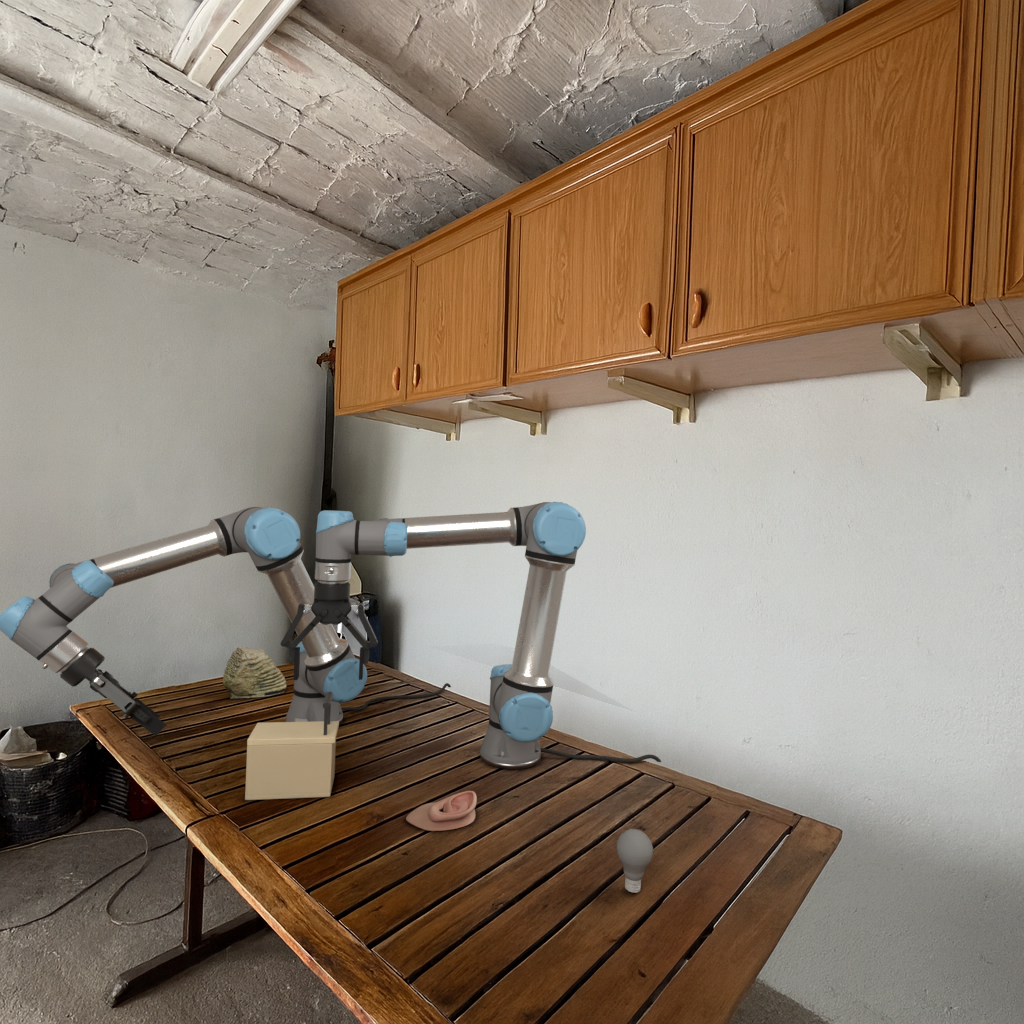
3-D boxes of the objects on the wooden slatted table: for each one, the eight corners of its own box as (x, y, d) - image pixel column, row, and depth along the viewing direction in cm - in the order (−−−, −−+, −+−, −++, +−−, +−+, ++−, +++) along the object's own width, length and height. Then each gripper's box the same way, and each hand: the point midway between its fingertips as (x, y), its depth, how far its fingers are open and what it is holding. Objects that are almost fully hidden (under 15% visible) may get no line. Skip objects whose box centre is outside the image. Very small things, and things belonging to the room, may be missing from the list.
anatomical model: (400, 806, 123) (421, 781, 134) (399, 826, 123) (420, 799, 134) (466, 816, 120) (481, 789, 131) (465, 836, 120) (481, 808, 131)
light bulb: (610, 879, 108) (613, 822, 108) (644, 879, 109) (647, 822, 109) (619, 902, 102) (622, 840, 102) (655, 901, 103) (658, 840, 103)
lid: (338, 726, 144) (340, 689, 144) (334, 743, 134) (336, 704, 134) (257, 727, 141) (258, 690, 140) (247, 745, 131) (248, 705, 130)
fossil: (218, 695, 195) (220, 647, 195) (278, 685, 208) (279, 640, 207) (228, 703, 189) (230, 653, 188) (289, 692, 201) (290, 645, 201)
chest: (334, 776, 144) (336, 726, 144) (330, 796, 134) (332, 743, 134) (255, 778, 141) (257, 728, 141) (244, 800, 131) (247, 745, 131)
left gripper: (59, 670, 136) (138, 731, 142) (55, 680, 115) (147, 751, 122) (90, 643, 139) (166, 704, 146) (91, 648, 119) (179, 718, 125)
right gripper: (268, 582, 132) (265, 683, 132) (390, 584, 136) (386, 682, 137) (275, 577, 139) (272, 673, 140) (390, 580, 144) (387, 673, 144)
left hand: (157, 725), depth 134 cm, fingers open, 13 cm apart
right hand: (328, 678), depth 138 cm, fingers open, 13 cm apart
